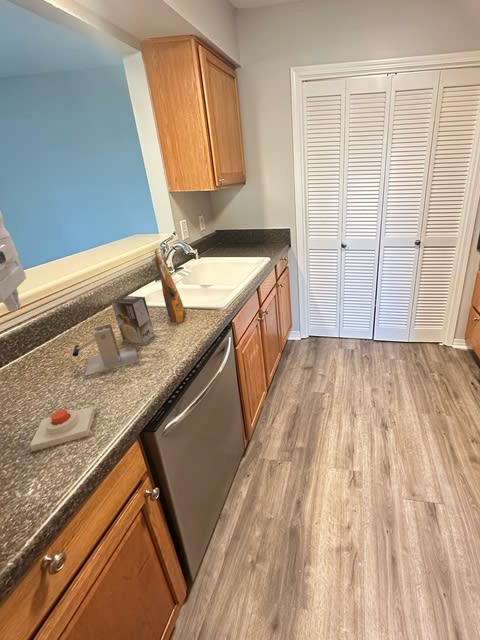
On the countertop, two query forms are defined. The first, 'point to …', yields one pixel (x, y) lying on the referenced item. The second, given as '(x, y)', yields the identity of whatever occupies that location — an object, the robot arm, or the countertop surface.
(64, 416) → the button
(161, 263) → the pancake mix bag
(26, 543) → the countertop surface
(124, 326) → the coffee box
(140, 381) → the countertop surface
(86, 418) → the control block
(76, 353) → the toast lever
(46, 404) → the countertop surface
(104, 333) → the toaster bracket
